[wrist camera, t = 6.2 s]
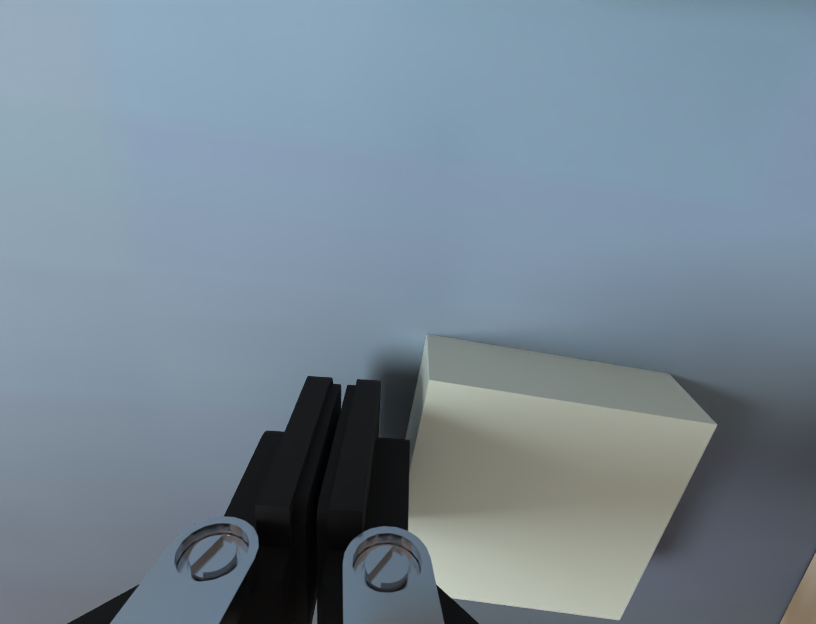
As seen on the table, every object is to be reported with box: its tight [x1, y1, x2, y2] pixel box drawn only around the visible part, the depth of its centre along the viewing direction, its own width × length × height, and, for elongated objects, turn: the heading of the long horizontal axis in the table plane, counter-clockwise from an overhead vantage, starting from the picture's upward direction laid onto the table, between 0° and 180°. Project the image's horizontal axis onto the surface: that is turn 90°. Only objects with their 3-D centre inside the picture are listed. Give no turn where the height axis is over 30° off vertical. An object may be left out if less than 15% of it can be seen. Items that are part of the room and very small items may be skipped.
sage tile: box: [406, 334, 717, 620], centre depth 12 cm, size 6×6×2 cm
